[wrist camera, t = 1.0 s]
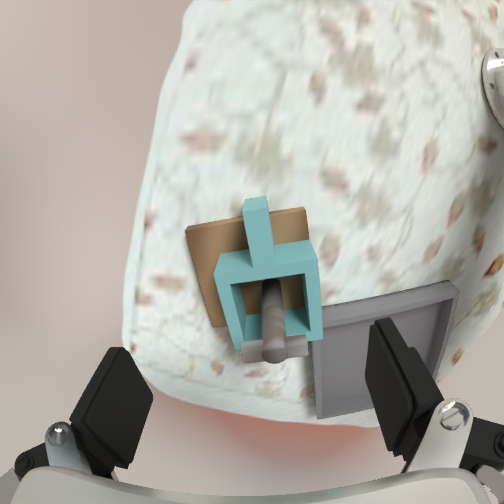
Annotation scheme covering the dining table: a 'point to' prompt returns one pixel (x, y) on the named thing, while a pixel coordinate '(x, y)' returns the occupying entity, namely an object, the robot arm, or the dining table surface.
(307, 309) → the teal hollow frame
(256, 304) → the stake board
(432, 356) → the tray
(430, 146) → the dining table surface
